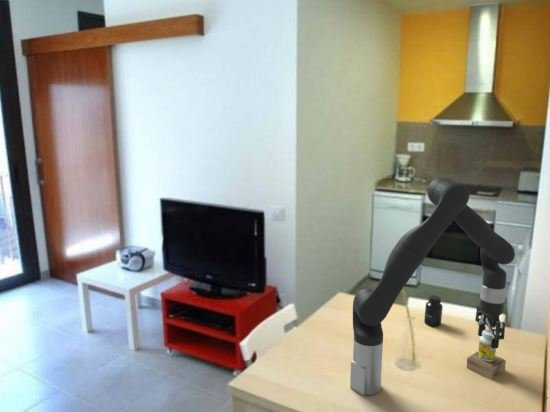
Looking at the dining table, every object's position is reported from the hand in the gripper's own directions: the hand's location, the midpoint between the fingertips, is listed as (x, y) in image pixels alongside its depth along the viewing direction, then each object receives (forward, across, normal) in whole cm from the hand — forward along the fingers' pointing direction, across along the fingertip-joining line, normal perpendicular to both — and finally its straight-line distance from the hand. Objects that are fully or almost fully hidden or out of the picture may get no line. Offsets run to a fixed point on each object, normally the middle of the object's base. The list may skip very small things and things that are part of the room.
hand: (487, 341), depth 160 cm
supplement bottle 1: (+11, +35, +4) cm, 37 cm away
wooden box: (+10, 0, 0) cm, 11 cm away
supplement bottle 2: (+6, 0, 0) cm, 6 cm away
